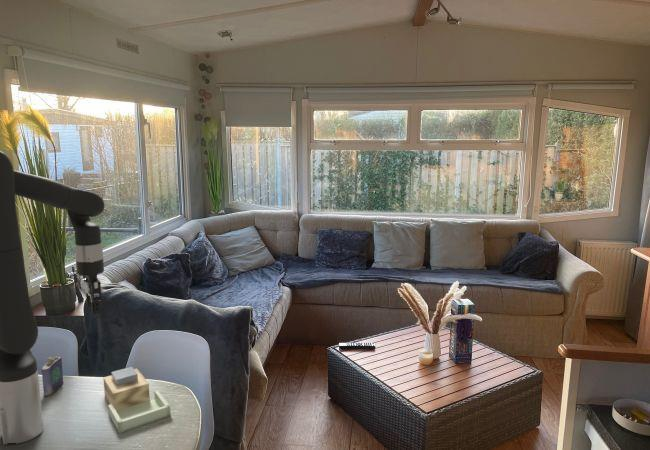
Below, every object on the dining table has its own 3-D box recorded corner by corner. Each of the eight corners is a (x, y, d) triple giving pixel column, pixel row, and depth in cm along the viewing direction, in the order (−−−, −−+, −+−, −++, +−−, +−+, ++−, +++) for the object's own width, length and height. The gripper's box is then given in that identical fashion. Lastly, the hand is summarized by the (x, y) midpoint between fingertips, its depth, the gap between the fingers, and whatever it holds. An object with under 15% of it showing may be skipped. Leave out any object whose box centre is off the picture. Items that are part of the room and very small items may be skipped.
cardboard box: (114, 413, 137) (113, 393, 136) (104, 395, 146) (103, 377, 145) (149, 401, 143) (148, 383, 142) (138, 385, 152) (137, 368, 151)
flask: (50, 396, 145) (47, 363, 144) (40, 396, 145) (37, 363, 143) (65, 381, 154) (62, 350, 153) (56, 381, 154) (53, 350, 153)
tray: (119, 433, 127) (118, 423, 127) (109, 414, 136) (108, 405, 135) (170, 415, 135) (170, 406, 135) (158, 399, 144) (157, 390, 144)
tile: (116, 386, 140) (116, 379, 140) (111, 378, 145) (111, 372, 144) (137, 380, 143) (137, 374, 143) (132, 372, 148) (131, 366, 148)
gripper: (71, 255, 148) (75, 305, 151) (80, 264, 137) (84, 318, 139) (97, 252, 152) (101, 301, 155) (108, 261, 141) (112, 313, 144)
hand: (93, 309), depth 147 cm, fingers open, 7 cm apart
